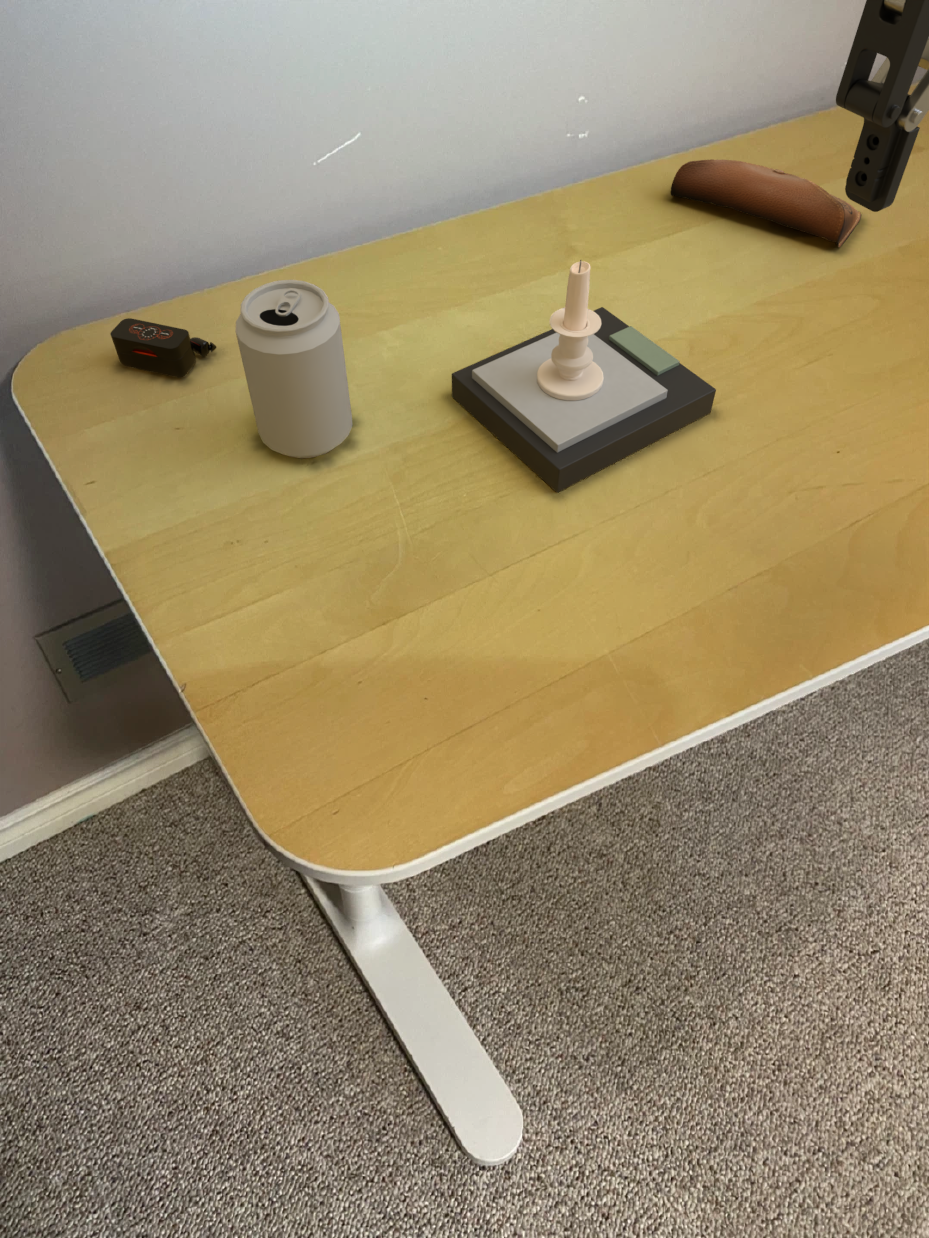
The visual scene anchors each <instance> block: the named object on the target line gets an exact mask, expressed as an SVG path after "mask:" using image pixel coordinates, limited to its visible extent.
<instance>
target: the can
mask: <svg viewBox="0 0 929 1238" xmlns="http://www.w3.org/2000/svg"><path fill="white" fill-rule="evenodd" d="M329 300H330V299H329V297H328V295H327V294H326V292H325V290H323V289H322V288H321V287H319V286H317V285H316V284H313V283H311V282H307V281H305V280H298V279H279V280H274V281H271V282H267V283H263V284H262V285H260V286H257V287H256V288H254V289H252V290H251V291H250V292H249V293H248V294H246V295H245V296H244V298H243V299H242V301H241V302H240V312H239V316H238V317H237V318H236V321H235V335H236V340H237V345H238V349H239V353H240V358H241V362H242V367H243V371H244V375H245V380H246V384H247V389H248V393H249V397H250V403H251V406H252V411H253V415H254V420H255V425H256V428H257V429H256V430H257V433H258V435H259V437H260V439H261V441H262V443H263V444H264V445H265V446H267V447H268V448H269V449H270V450H272V451H274V452H276V453H278V454H282V455H283V456H288V457H290V458H297V459H309V458H315V457H319V456H323V455H325V454H327V453H329V452H331V451H332V450H334V449H336V447H338V446H339V445H341V444H343V442H344V441H345V440H346V439H347V438H348V437H349V435H350V433H351V430H352V428H353V426H354V425H353V414H352V404H351V397H350V389H349V382H348V374H347V366H346V357H345V350H344V341H343V334H342V326H341V318H340V313H339V311H338V310H337V308H336V306H335V305H334V304H332V303H331V302H330V301H329Z"/></svg>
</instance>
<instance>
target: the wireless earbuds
mask: <svg viewBox="0 0 929 1238" xmlns="http://www.w3.org/2000/svg"><path fill="white" fill-rule="evenodd" d="M109 334H110V338H111V340H112V343H113V346H114V349H115V351H116V355H117V358H118V360H119V363H120V364H121V365H122V366H124V367H128V368H132V369H136V370H141V371H145V372H149V373H150V372H151V373H155V374H159V375H164V376H167V377H168V376H169V377H173V378H177V379H183V378H185V377H186V376H187V375H188V373H189V372H190V371H191V369H193V367H194V366H195V364H196V362H197V358H196V355H195V354H197V355H199V356H200V357H202V358H205V357H207V356H208V355H209V354H210V353H213V352H214V351H215V350H216V349H217V345H216V344H214V342H212V341H210V342H209V341H207V340H205V339H203V338H200V337H198V336H196V337H195V336H194V337H191V335H190V332H189V330H187V329H185V328H180V327H174V326H171V325H165V324H160V323H157V322H150V321H146V320H141V319H136V318H132V317H131V318H130V317H129V318H124V319H122V320H120V321H119V322H118V324H117V325H116V326H115V327H114V328H113V329H112V330H111V331H110V333H109Z"/></svg>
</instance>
